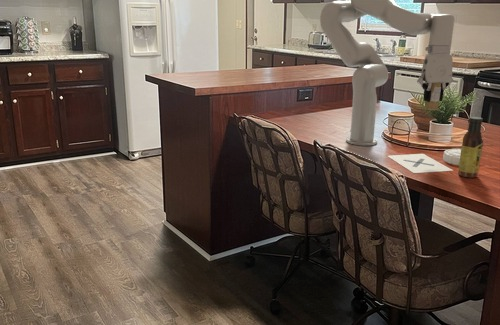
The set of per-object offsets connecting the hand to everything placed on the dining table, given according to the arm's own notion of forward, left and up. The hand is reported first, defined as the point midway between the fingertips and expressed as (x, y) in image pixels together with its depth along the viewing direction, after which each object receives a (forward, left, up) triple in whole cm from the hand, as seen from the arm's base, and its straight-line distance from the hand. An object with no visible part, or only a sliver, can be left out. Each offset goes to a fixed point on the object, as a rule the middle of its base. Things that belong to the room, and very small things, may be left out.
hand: (432, 100), depth 180 cm
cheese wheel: (+9, +9, -22) cm, 25 cm away
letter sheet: (+8, -8, -21) cm, 24 cm away
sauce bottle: (+23, +2, -21) cm, 32 cm away
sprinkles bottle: (0, 0, -4) cm, 4 cm away
